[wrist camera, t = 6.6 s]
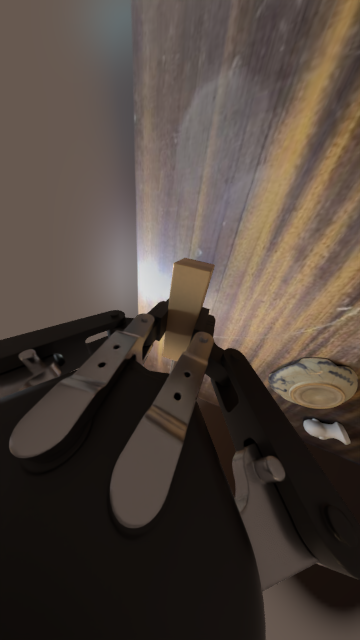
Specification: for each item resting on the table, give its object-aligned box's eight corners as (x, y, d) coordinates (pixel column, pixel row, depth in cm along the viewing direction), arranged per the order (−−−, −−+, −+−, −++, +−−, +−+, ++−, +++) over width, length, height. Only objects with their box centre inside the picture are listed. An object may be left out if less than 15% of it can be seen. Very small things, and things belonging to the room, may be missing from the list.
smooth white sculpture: (298, 418, 38) (302, 415, 34) (337, 424, 34) (345, 421, 31) (304, 437, 35) (309, 436, 32) (347, 446, 31) (357, 446, 28)
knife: (184, 257, 10) (173, 262, 8) (215, 264, 9) (211, 271, 7) (159, 408, 26) (154, 422, 24) (170, 412, 26) (165, 428, 24)
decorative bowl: (365, 356, 23) (266, 358, 29) (387, 374, 20) (271, 371, 26) (347, 403, 29) (269, 396, 35) (361, 422, 26) (273, 411, 32)
